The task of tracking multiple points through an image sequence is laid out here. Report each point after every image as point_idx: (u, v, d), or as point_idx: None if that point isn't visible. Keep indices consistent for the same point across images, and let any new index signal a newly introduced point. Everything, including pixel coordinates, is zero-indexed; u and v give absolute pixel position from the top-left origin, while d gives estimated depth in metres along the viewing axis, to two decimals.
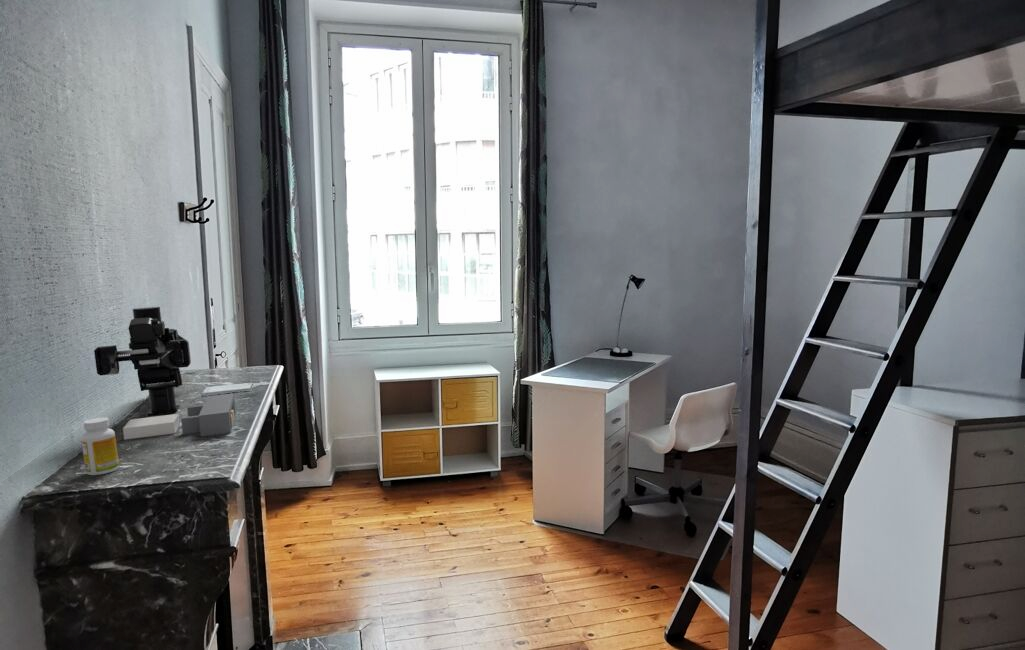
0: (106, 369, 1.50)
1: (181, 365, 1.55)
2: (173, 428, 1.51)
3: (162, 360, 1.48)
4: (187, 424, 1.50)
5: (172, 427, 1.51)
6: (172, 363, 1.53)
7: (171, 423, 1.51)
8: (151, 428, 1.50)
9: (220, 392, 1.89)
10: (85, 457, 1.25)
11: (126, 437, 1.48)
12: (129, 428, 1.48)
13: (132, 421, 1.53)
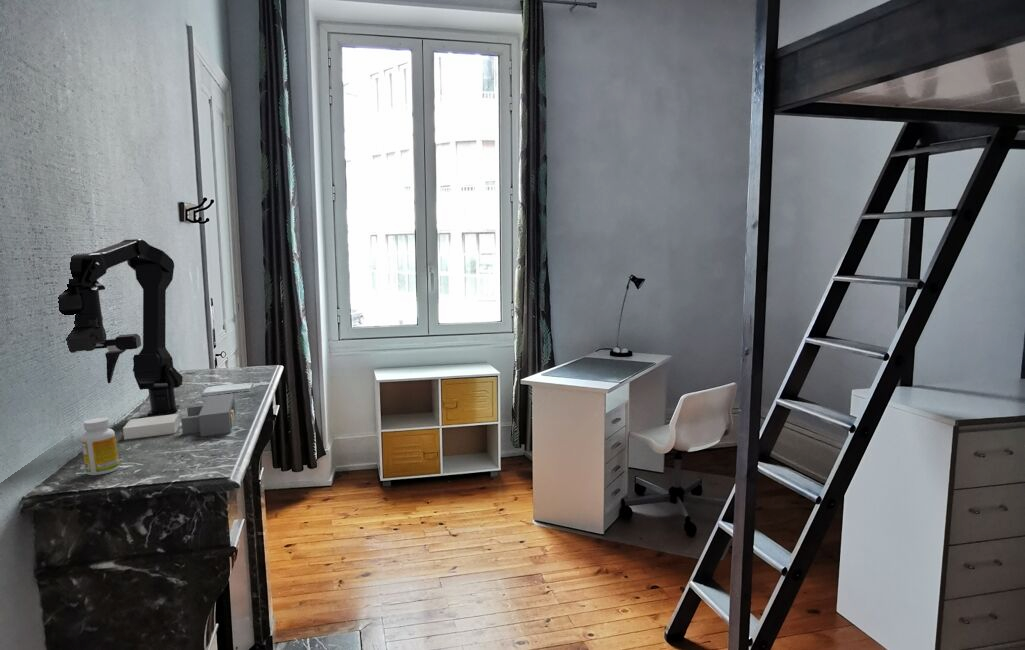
0: None
1: None
2: (173, 428, 1.51)
3: (110, 380, 1.50)
4: (187, 424, 1.50)
5: (172, 427, 1.51)
6: (116, 360, 1.51)
7: (171, 423, 1.51)
8: (151, 428, 1.50)
9: (220, 392, 1.89)
10: (85, 457, 1.25)
11: (126, 437, 1.48)
12: (129, 428, 1.48)
13: (132, 421, 1.53)
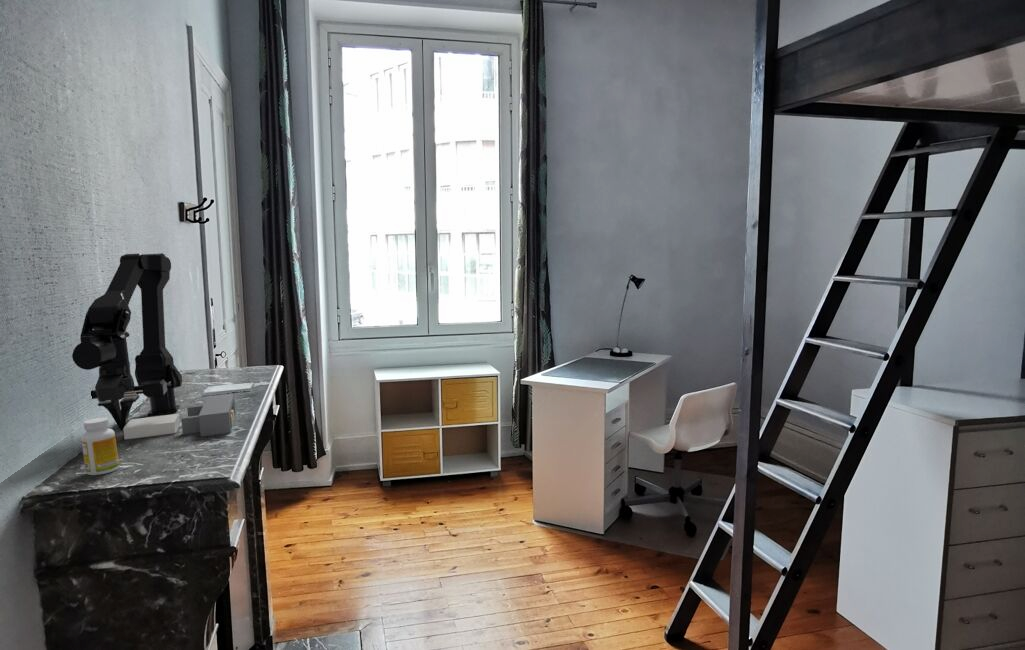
0: None
1: None
2: (173, 428, 1.51)
3: None
4: (187, 424, 1.50)
5: (172, 427, 1.51)
6: (130, 407, 1.53)
7: (171, 423, 1.51)
8: (151, 428, 1.50)
9: (221, 392, 1.89)
10: (85, 457, 1.25)
11: (126, 437, 1.48)
12: (129, 428, 1.48)
13: (132, 421, 1.53)
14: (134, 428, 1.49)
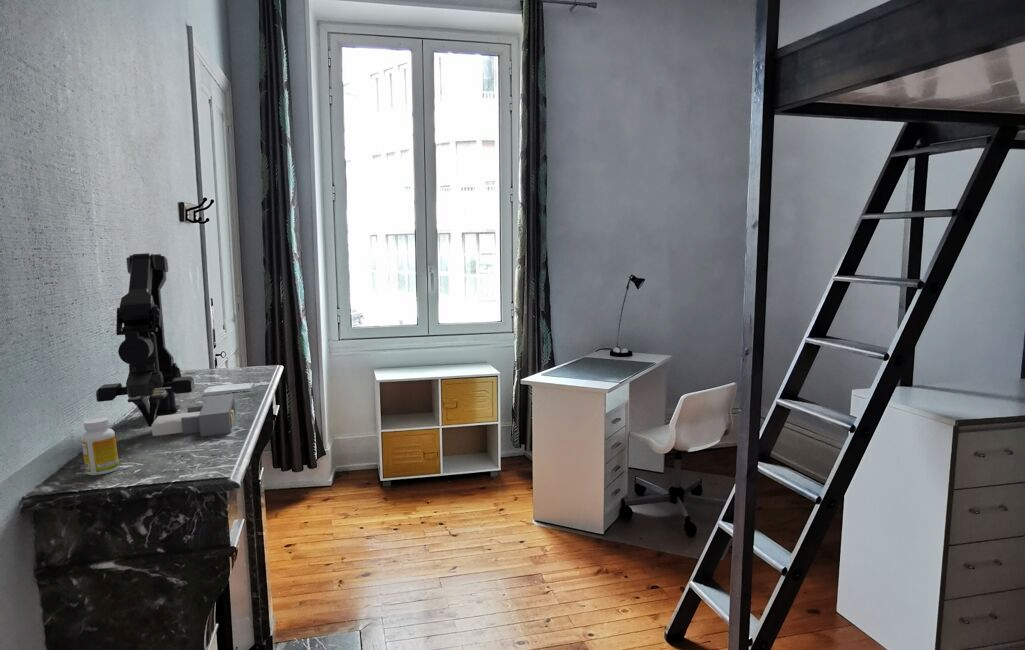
0: None
1: None
2: None
3: None
4: (187, 424, 1.50)
5: None
6: (158, 403, 1.54)
7: None
8: (179, 425, 1.51)
9: (221, 392, 1.89)
10: (85, 457, 1.25)
11: (154, 433, 1.50)
12: (157, 425, 1.50)
13: (160, 418, 1.55)
14: (162, 425, 1.50)
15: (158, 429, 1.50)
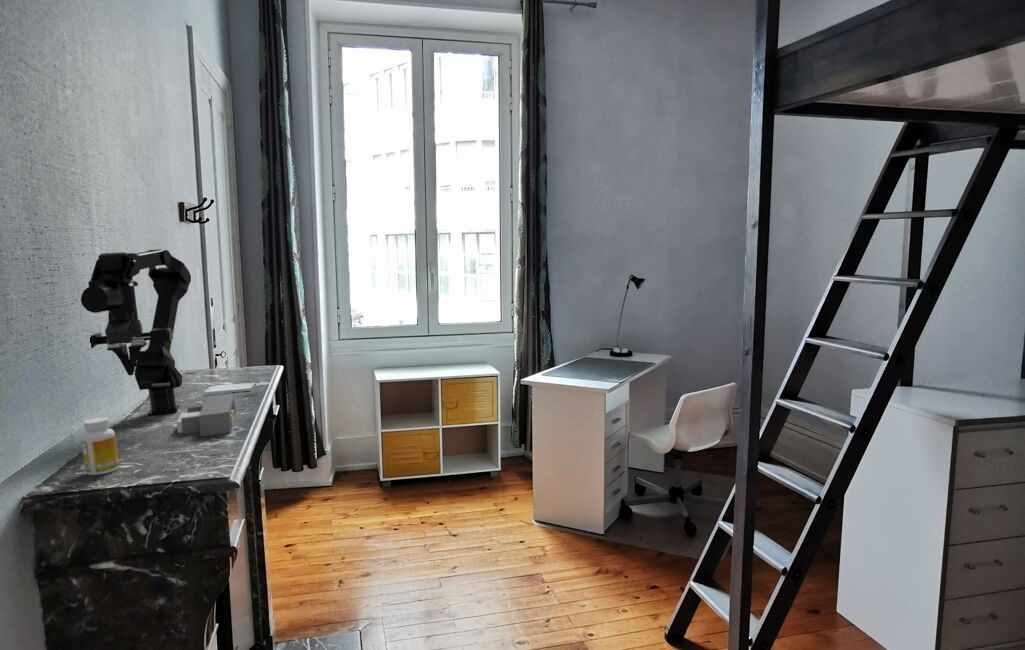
0: None
1: None
2: None
3: (133, 372, 1.58)
4: (187, 424, 1.50)
5: None
6: (138, 353, 1.59)
7: None
8: None
9: (221, 392, 1.89)
10: (85, 457, 1.25)
11: (180, 430, 1.51)
12: None
13: (184, 415, 1.57)
14: None
15: None
